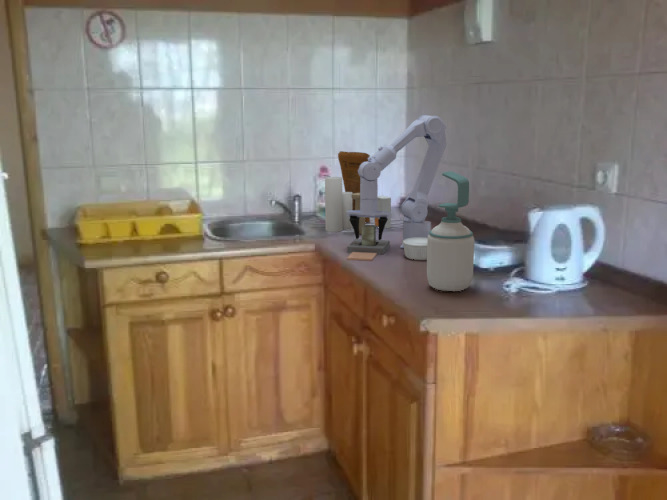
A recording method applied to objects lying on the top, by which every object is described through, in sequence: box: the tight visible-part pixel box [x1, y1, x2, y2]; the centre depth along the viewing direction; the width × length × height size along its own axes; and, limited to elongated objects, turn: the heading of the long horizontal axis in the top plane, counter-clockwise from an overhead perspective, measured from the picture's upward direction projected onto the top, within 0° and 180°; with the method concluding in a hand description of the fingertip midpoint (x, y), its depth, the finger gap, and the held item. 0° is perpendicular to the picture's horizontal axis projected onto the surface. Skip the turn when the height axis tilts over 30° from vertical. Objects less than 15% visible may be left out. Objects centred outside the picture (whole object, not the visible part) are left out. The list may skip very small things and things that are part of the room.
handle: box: [352, 193, 366, 236], centre depth 253 cm, size 5×6×15 cm
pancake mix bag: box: [337, 151, 371, 223], centre depth 277 cm, size 7×19×28 cm, turn 32°
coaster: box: [346, 252, 378, 262], centre depth 220 cm, size 8×8×1 cm
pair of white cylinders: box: [324, 176, 353, 233], centre depth 261 cm, size 11×7×20 cm, turn 135°
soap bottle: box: [426, 170, 475, 290], centre depth 182 cm, size 12×12×31 cm
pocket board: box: [346, 238, 391, 255], centre depth 230 cm, size 12×12×2 cm
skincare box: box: [374, 195, 392, 230], centre depth 265 cm, size 6×4×12 cm
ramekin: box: [402, 237, 428, 261], centre depth 219 cm, size 11×11×5 cm
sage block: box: [361, 224, 377, 246], centre depth 229 cm, size 4×4×8 cm
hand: (368, 238), depth 229 cm, fingers open, 7 cm apart
